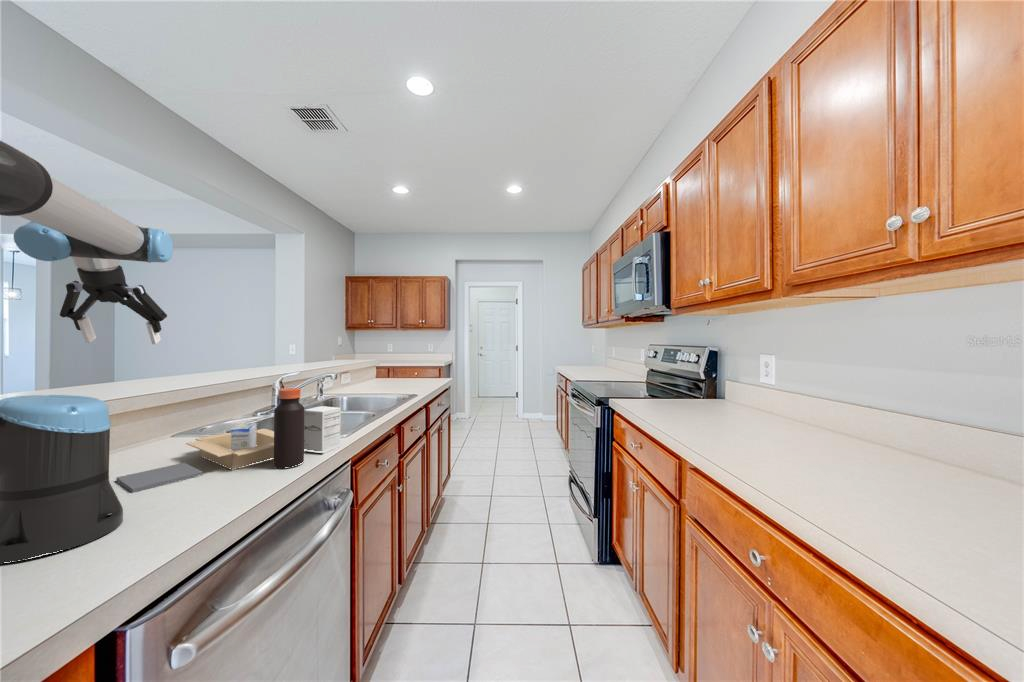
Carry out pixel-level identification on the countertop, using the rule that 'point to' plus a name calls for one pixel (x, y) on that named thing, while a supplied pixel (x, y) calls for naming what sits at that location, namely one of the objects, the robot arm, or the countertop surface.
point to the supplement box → (321, 428)
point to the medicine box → (243, 436)
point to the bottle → (288, 429)
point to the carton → (221, 453)
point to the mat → (157, 477)
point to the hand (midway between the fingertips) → (124, 341)
